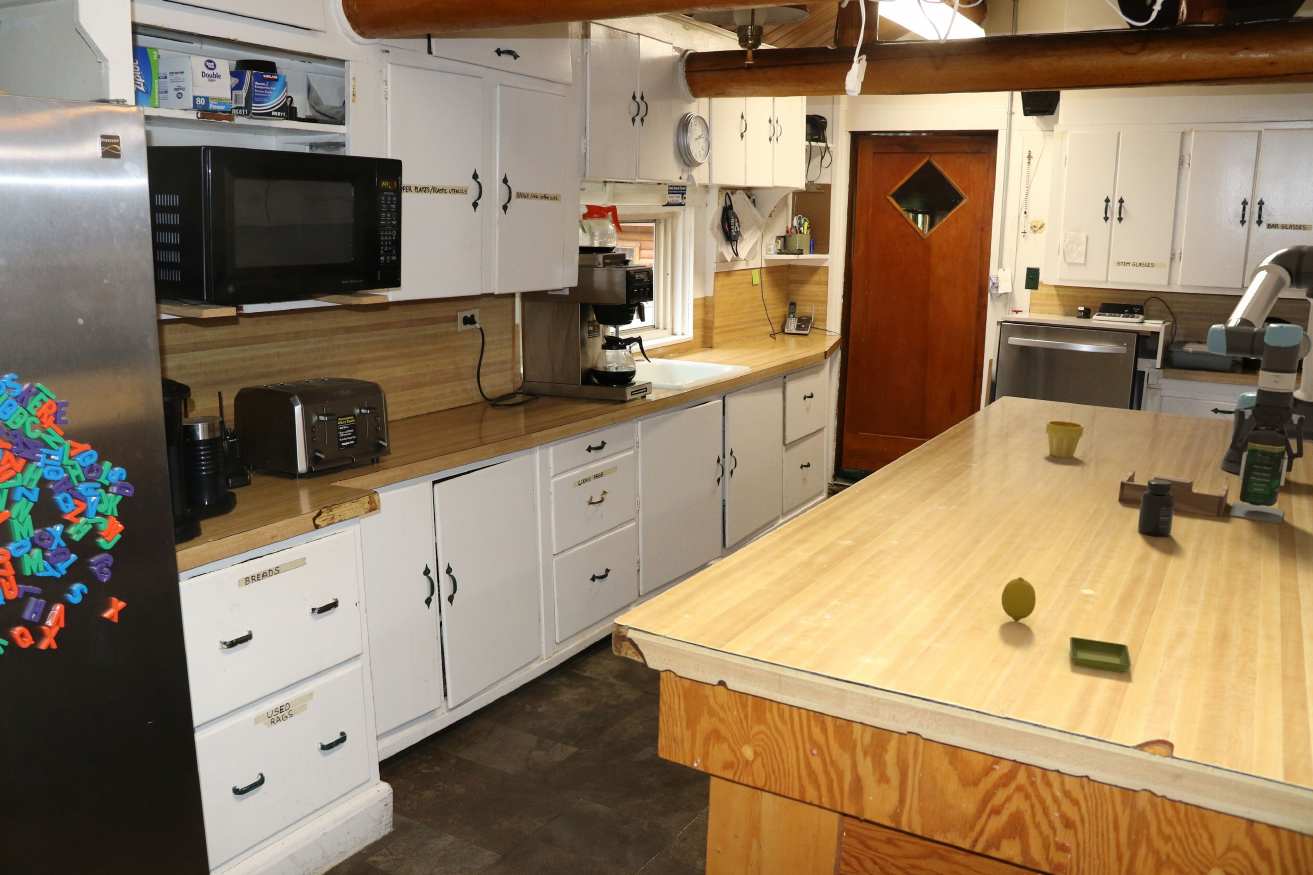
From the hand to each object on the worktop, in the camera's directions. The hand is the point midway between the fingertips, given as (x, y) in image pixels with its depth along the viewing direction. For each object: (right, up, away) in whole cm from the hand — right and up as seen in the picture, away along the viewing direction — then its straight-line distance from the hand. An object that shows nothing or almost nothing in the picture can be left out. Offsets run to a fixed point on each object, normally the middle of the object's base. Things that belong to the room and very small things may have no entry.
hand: (1261, 481), depth 249 cm
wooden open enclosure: (-16, -6, +11) cm, 20 cm away
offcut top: (-19, -2, +6) cm, 20 cm away
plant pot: (-24, +5, +61) cm, 66 cm away
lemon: (-85, -21, -71) cm, 113 cm away
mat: (0, -8, +2) cm, 8 cm away
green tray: (-77, -25, -86) cm, 118 cm away
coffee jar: (0, -5, +1) cm, 5 cm away
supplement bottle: (-34, -11, -16) cm, 40 cm away
